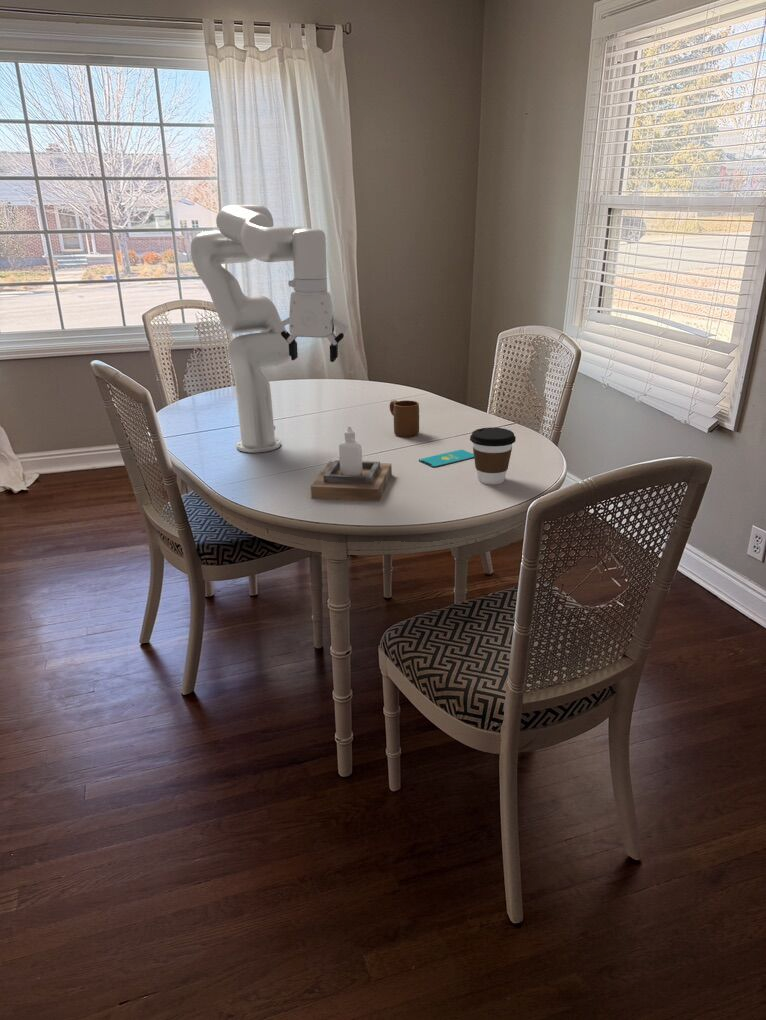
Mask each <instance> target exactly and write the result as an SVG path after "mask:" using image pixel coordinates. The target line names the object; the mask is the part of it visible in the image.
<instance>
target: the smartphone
mask: <svg viewBox="0 0 766 1020" xmlns="http://www.w3.org/2000/svg"><path fill="white" fill-rule="evenodd" d="M471 459H474V453H471V452H469V451H467V450H465V449H457V450H454V451H449V452H448V451H447V452H446V453H445V452H444V453H440V454H435V455H432V456H427V457H423V458H419V459H418V462H419V463H421V464H423V465H425V466H428V467H430V468H434V469H435V468H440V467H443V466H448V465H452V464H456V463H459V462H464V461H468V460H471Z"/></svg>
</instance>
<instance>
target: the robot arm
mask: <svg viewBox="0 0 766 1020" xmlns="http://www.w3.org/2000/svg"><path fill="white" fill-rule="evenodd" d="M215 219H216V221H215V223H216V227H217V229H218V230H209V231H203V232H199V233H198V234H197V235H195V236H194V237H193V238H192V240H191V243H190V256H191V261H192V264H193V267H194V269H195V271H196V273H197V275H198V277H199V279H200V280H201V281H202V283H203V285H204V286H205V287H206V290H207V291H208V293H209V295H210V298H211V301H212V303H213V306H214V308H215V310H216V313H217V316H218V318H219V320H220V323H221V325H222V327H223V329H224V331H226V332H227V333H229V334H232V335H238V334H239V336H236V337H234V338H233V339H232V340H230V342H229V344H228V348H227V354H228V359H229V361H230V366H231V369H232V373H233V377H234V385H235V394H236V402H237V410H238V411H237V412H238V421H239V431H240V440H239V441H237V443H236V444H235V446H236V449H237V450H238V451H241V452H244V453H249V454H250V453H251V454H252V453H253V454H254V453H256V454H257V453H266V452H270V451H274V450H276V449H279V448H280V446H281V445H282V442H281V440H280V438H277V437H276V435H275V430H276V426H275V425H274V413H273V401H272V393H271V391H272V390H271V389H272V388H271V384H270V382H269V380H268V378H267V376H266V375H265V374H264V373H263V372H262V369H265V368H272V367H277V366H282V365H285V364H286V363H288V362H289V361H295V360H297V358H298V357H299V356H298V342H297V341H296V339H297V338H317V339H318V338H320V339H322V338H323V339H324V338H326V339H327V340H328V341H329V342H330V344H329V362H330V363H334V362H335V361H336V359H337V358H338V356H339V351H338V349H339V347H338V346H339V345H338V344H339V343H340V342H341V341H342V340H343V339H344V337H345V336H346V334H347V331H348V329H349V325H348V324H347V323H344V322H343V321H341V320H339V319H337V318H336V317H335V315H334V307H333V301H332V296H331V293H330V291H328V274H327V243H326V241H327V240H326V239H327V238H326V237H327V236H326V234H325V231H323V230H322V229H319V228H308V227H306V226H301V225H299V226H298V225H297V226H295V225H294V226H274V217H273V215H272V213H271V212H270V210H269V209H268V208H267V207H265V206H264V205H262V204H231V205H225V206H224V207H222V208H221V209H220V210H219V211H218V213H217V215H216V218H215ZM254 259H255V260H257V261H260V262H263V263H277V262H278V263H279V262H293V263H292V264H293V279H292V280H288V287H291V288H293V290H294V291H292V292H291V293H290V299H289V311H288V312H289V313H288V316H289V317H287V318H286V319H283V320H282V319H281V316H280V314H279V312H278V309H277V308H276V305H275V303H274V302H273V301H272V300H271V298H269V297H267V296H265V295H253V296H251V295H250V296H247V295H245V294H244V293H243V290H242V287H241V284H240V283H239V281H238V279H237V278H236V277H235V276H234V275H233V274H232V273H231V272H230V271H229V270H227V269H226V268H224V266H223V265H224V264H227V265H228V264H238V263H239V264H241V263H249V262H251V261H253V260H254ZM287 325H288V327H289V328H288V329H289V332H288V331H287V329H286V326H287ZM335 327H337V328H339V329H340V330H339V331H340V332H339V334H338V335H336V333H335ZM254 332H255V333H254ZM290 359H291V360H290Z"/></svg>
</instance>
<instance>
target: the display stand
mask: <svg viewBox="0 0 766 1020" xmlns="http://www.w3.org/2000/svg"><path fill="white" fill-rule="evenodd" d="M392 467H393V466H392V463H387V462H385V463H384V462H381V461H370V460H369V461H368V460H366V461H365V460H362V469H363V474H362V475H343V474H341V472H340V459H337V460H336V459H335V460H334V461H333V460H332V461H331V460H329V461H328V463H327V464H326V465H325V467H324V468H323V470H322V471H321V472H320V473H319V475H318V476H317V477H316V478H315V480H314V481H313V483H312V484H311V485H310V496H311V497H310V498H311V499H321V500H339V501H340V500H341V501H342V500H343V501H360V502H362V501H363V502H379V501H380V499H381V497H382V496H383V493H384V491H385V489H386V487H387V486H388V483H389V481H390V479H391V477H392V475H393V473H392V470H393V469H392Z"/></svg>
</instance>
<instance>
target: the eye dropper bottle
mask: <svg viewBox="0 0 766 1020" xmlns="http://www.w3.org/2000/svg"><path fill="white" fill-rule="evenodd" d="M355 434H356V433H355V431H354V430H352V426H351V425H348V426H347V430H346V431H344V440H343V441H341V442H340V443H339V444H338V449H339V450H338V453H339V455H338V456H339V457H338V458H339V460H340V472H341V474H343V475H362V474H363V469H362V461H363V450H362V444H360V443H359V442H358V441H356V435H355Z"/></svg>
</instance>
